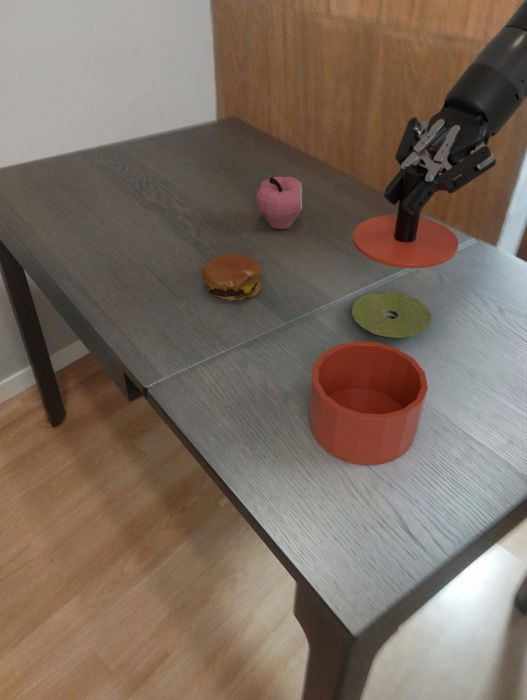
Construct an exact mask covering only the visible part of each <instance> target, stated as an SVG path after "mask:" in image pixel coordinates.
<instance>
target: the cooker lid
mask: <svg viewBox="0 0 527 700" xmlns="http://www.w3.org/2000/svg"><path fill="white" fill-rule="evenodd" d="M428 171H429V169H428V168H425V167H423V166H418V165H417V164H414V165H411V166H407V167H405V169H404V174H403V180H402V187H401V193H400V200H399V201H398V207H397V213H396V214H384V215H378V216H374V217H371V218H367V219H365V220H364V221H361V222H360V223H359V224H358V225H357V226H356V227H355V228H354V229H353V232H352V239H351V240H352V244H353V246H354V248H355V249H356V250H357V251H358V252H359V253H360V254H361V255H363V256H364V257H366V258H367V259H369V260H372V261H374V262H376V263H379V264H380V265H381V264H382V265H385V266H389V267H395V268H400V269H425V268H432V267H436V266H439V265H440V266H441V265H443V264H445V263H446V262H448V261H450V260H451V259H453V258H454V257H455V256H456V254H457V251H458V249H459V240H458V237H457V235H456V234H455V233H454V232H453V231H452V229H450V228H448V227H447V226H446V225H444V224H441V223H439V222H437V221H435V220H432V219H429V218H425V217H421V213H422V209H421V210H420V211H419V212H416V213H415V214H414V215H410V214H408V213H407V212H406V211H405V210H404V209H403V208H402V203H403V202H404V200H405V199H406V198H407V197H408V195H409V194H410V193H411V192H412V191H413V189H414V188H415V187H416V186H417V184H418V183H419V182H420V181H421V180H423V181H425V176H426V175H427V173H428Z"/></svg>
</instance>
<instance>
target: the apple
mask: <svg viewBox="0 0 527 700" xmlns="http://www.w3.org/2000/svg"><path fill="white" fill-rule="evenodd" d="M255 197H256V198H255V200H256V205H257V207H258V209H259V211H260V212H261V214H262V215H263V217H264V219H265V220H266V222H267V224H268V225H269V226H270V227H271V228H272V229H275V230H285V229H291V227H292V225H293V224H294V222H295V221H296V219H297V218H298V216H299V215H300V214H301V212H302V210H303V184H302V182H301V181H300V180H298V179H297V178H295V177H293V176H274V177H270V178H267V179H264V180H263V181H262V182H261V184H260V185H259V188H258V190H257V192H256V196H255Z"/></svg>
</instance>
